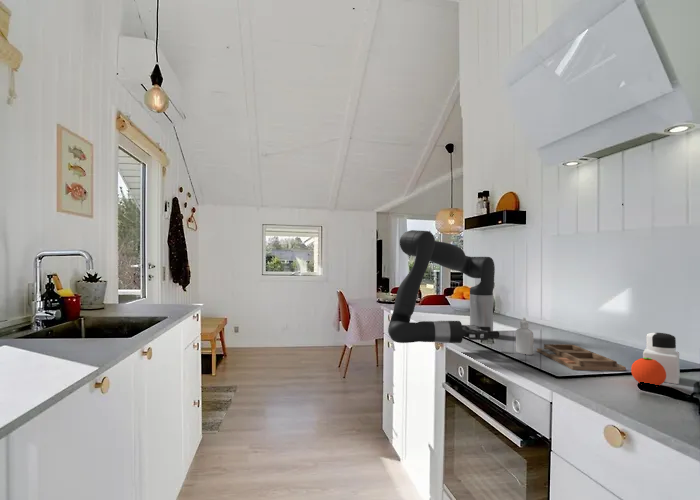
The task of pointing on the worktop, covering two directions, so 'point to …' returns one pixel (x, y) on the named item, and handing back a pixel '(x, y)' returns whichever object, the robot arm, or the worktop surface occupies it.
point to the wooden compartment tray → (578, 358)
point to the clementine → (648, 371)
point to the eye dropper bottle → (524, 339)
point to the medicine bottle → (664, 354)
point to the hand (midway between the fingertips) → (494, 332)
